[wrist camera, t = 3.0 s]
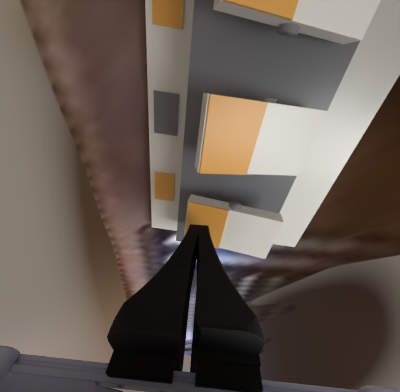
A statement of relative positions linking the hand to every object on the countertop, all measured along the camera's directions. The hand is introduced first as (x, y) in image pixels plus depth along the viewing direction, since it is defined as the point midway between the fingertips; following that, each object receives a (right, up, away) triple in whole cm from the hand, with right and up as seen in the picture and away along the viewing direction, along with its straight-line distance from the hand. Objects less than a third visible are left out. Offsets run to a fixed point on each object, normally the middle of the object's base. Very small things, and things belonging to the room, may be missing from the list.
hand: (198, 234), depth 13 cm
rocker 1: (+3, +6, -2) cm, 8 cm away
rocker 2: (+2, +1, +2) cm, 3 cm away
